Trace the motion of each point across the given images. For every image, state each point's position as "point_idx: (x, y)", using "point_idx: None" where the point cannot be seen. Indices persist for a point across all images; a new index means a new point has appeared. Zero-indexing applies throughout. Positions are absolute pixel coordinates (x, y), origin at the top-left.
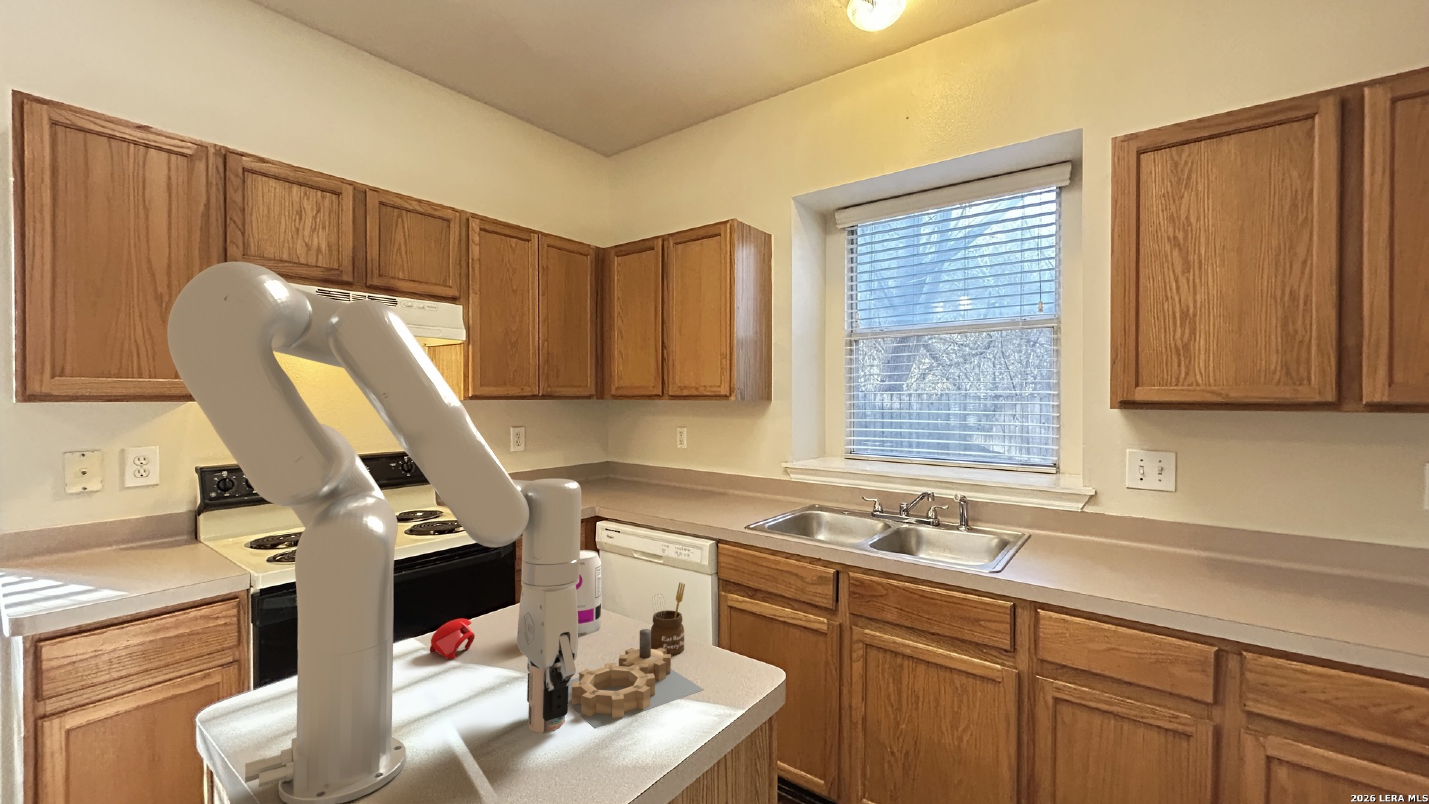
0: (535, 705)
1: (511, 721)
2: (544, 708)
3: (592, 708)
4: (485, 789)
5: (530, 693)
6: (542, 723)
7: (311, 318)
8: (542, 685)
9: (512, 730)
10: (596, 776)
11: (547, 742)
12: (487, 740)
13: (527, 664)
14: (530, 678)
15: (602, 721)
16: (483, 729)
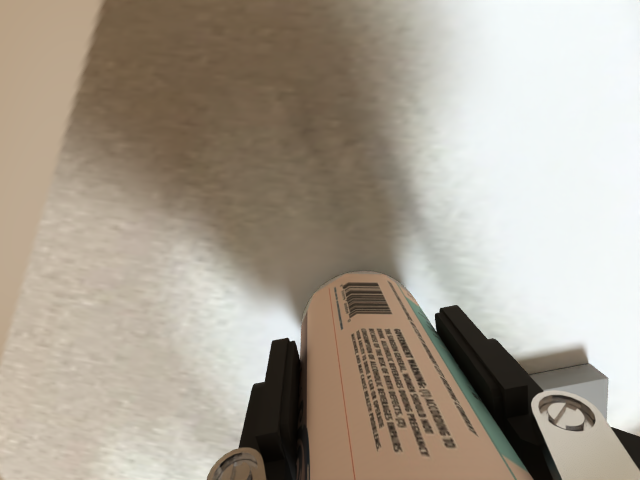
0: (332, 337)
1: (472, 227)
2: (267, 368)
3: None
4: (91, 100)
5: (367, 347)
6: (308, 323)
7: None
8: (311, 435)
9: (411, 223)
10: (68, 390)
11: (288, 309)
12: (387, 137)
13: (599, 417)
14: (402, 399)
15: None
16: (470, 131)
